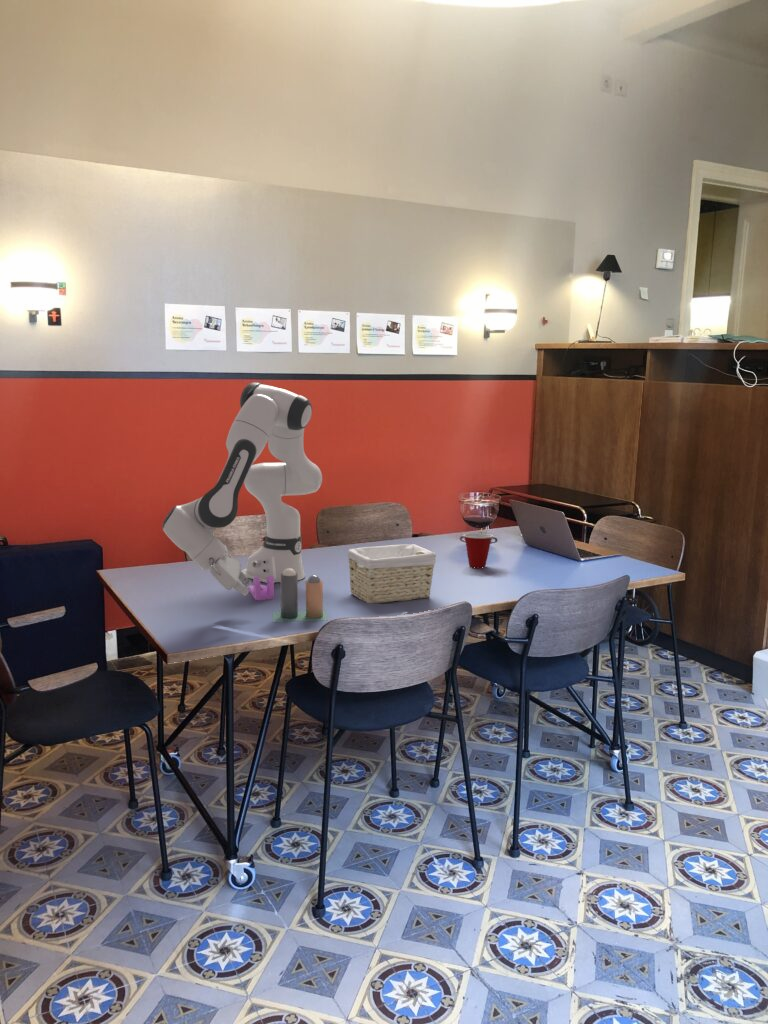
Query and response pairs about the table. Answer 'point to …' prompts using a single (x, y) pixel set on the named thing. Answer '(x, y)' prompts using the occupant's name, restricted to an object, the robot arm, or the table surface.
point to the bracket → (262, 589)
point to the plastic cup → (477, 548)
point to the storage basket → (391, 572)
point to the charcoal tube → (289, 594)
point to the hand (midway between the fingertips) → (248, 588)
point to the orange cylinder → (314, 597)
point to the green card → (300, 617)
